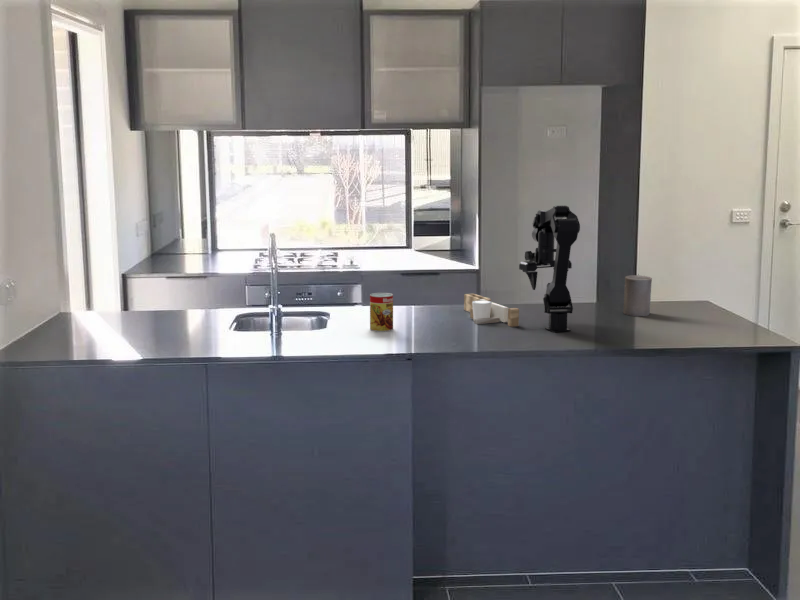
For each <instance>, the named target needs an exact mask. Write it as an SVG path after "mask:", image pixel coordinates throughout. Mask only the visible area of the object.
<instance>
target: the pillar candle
mask: <svg viewBox="0 0 800 600" xmlns="http://www.w3.org/2000/svg"><path fill="white" fill-rule="evenodd" d="M652 280H653V278H652V277H650V276H648V275H639V273H637V275H636V274H635V275H634V274H633V275H632V274H631V275H626V276H625V277H624V293H623V308H622V309H623V311H622V313H623V314H624V315H627V316H630V317H631V316H632V317H633V316H634V317H647V316H649V315H650V314H651V313H650V312H651V300H652V299H651V296H652V295H651V294H652Z"/></svg>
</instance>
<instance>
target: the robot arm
mask: <svg viewBox="0 0 800 600" xmlns="http://www.w3.org/2000/svg"><path fill="white" fill-rule="evenodd" d="M536 212H537V213H535V215H534V217H533V221H532V227H533V229H532V230H533V231H532V232H531V237H532V239H533V240H534V241H535V242H536V243H537V247H536V248H535V252H532V250H526V251H524V260H525V261H520V263H519V264H518V269H519V270H521V271H522V272H523V273H525V274H526V275H527V277H528V280H529V282H530V285H531V286H530V287H531V288H532V291H536V289H537V282H538V281H537V279H538V271H537V269H543V268H545V269H547V268H553V272H552V273H553V275H552V281H551V282H548V283H547V284H546V289H545V290H546V291H545V294H544V295H543V298H542V301H543V310H544V311H543V312H544V313H545V314H548V326H547V327H544V329H545V330H547V331H550V332H553V333H560V332H561V333H564V332H571V330H572V329H571V328H568V314H573V311H574V310H573V309H574V307H573V302H572V298H571V293H570V289H569V288H568V287H567V280H568V272H569V270H570V269H572V268H573V267H572V266H573V264H572V261H571V260H570V256H571V251H572V250H571V247H572V246H573V244H574V243H576V241H577V240H578V236H579V233H580V231H581V225H580V220H579V218H578V215H576V214H575V213H574V212H572V210H570V207H569V206H567V205H555V206H552V208H549V209H547V210H546V209H543V210H542V209H541V210H539V209H538V211H536ZM555 240H556V247H555Z"/></svg>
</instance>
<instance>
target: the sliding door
mask: <svg viewBox="0 0 800 600" xmlns="http://www.w3.org/2000/svg"><path fill="white" fill-rule="evenodd" d="M480 300H484V299H480ZM485 301H487V300H485ZM491 302H492V304H491V313H490V318H494V317H498V318H499V322H501V323H502V322H503V323H508V309H509V307H508V306H506V305H505V306H504V305H502V304H498V303H496V302H493V301H491ZM469 314H470V315H469V316H470V317H469V318H470V319H472V320H474V318H473V308H470V312H469Z"/></svg>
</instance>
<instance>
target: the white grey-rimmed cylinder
mask: <svg viewBox="0 0 800 600" xmlns="http://www.w3.org/2000/svg"><path fill="white" fill-rule="evenodd" d="M492 302H493V301H492V300H491V301H485V300H478V301H473V302H472V305H473V318H474V319H483V318H491V317H490V313H491V304H492ZM474 319H473V320H474Z"/></svg>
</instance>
